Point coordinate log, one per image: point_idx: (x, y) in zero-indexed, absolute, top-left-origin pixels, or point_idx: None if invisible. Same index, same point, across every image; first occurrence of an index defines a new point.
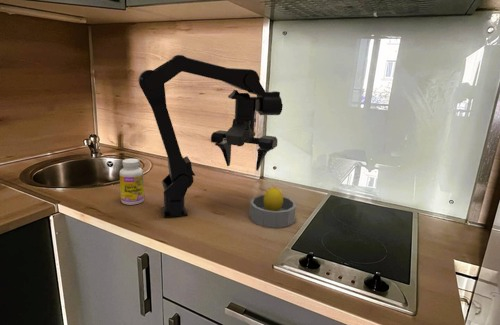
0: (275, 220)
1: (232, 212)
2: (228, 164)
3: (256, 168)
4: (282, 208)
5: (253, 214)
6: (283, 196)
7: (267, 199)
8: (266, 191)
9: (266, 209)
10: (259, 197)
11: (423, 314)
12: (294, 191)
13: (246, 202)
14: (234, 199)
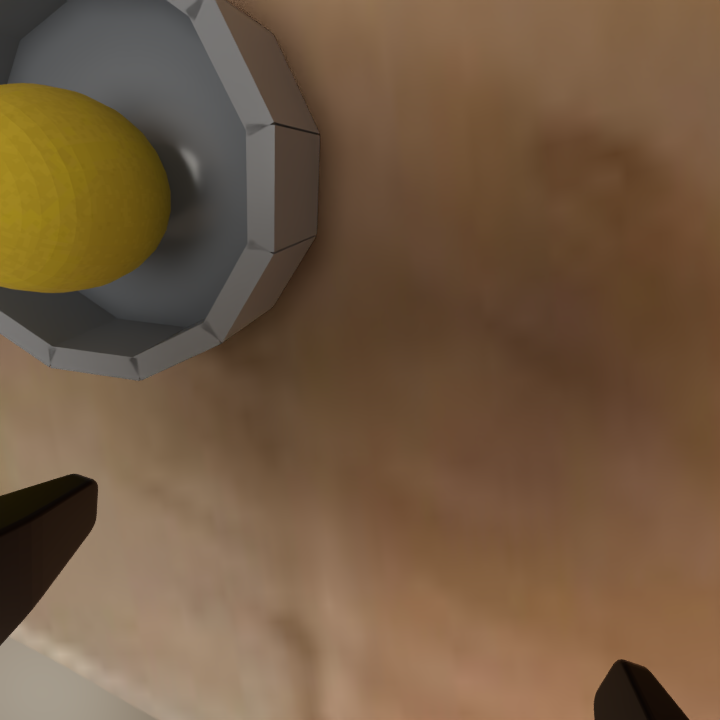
0: None
1: (469, 203)
2: (628, 688)
3: (64, 491)
4: (91, 296)
5: (251, 26)
6: (25, 343)
7: (71, 108)
8: (60, 198)
9: (195, 256)
10: (217, 301)
11: None
12: (98, 611)
13: (376, 414)
14: (476, 458)
